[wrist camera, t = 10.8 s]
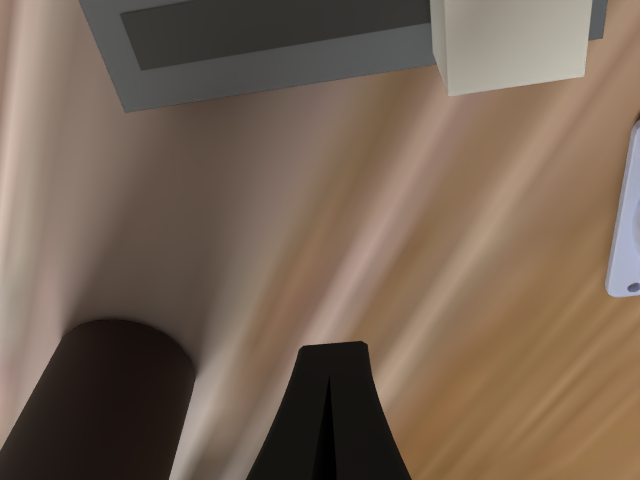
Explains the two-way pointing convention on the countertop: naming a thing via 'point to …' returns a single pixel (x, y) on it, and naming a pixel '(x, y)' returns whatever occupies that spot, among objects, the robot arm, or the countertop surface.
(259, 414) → the countertop surface
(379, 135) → the countertop surface
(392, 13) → the switch panel
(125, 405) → the bottle
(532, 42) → the tab
